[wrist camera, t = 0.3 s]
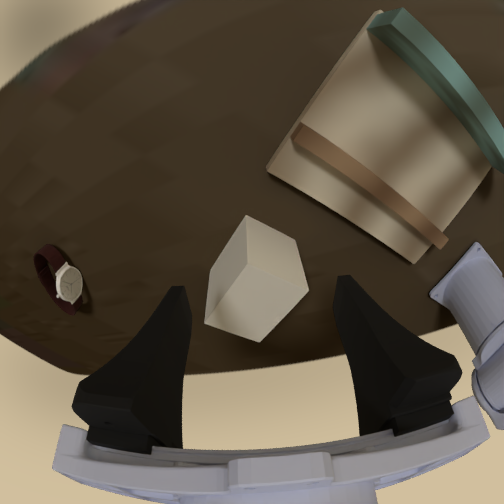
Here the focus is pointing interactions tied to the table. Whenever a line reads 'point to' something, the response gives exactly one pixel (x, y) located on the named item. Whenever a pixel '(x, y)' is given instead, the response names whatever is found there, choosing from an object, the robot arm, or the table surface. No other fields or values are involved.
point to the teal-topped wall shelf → (393, 136)
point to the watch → (59, 279)
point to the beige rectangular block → (254, 281)
